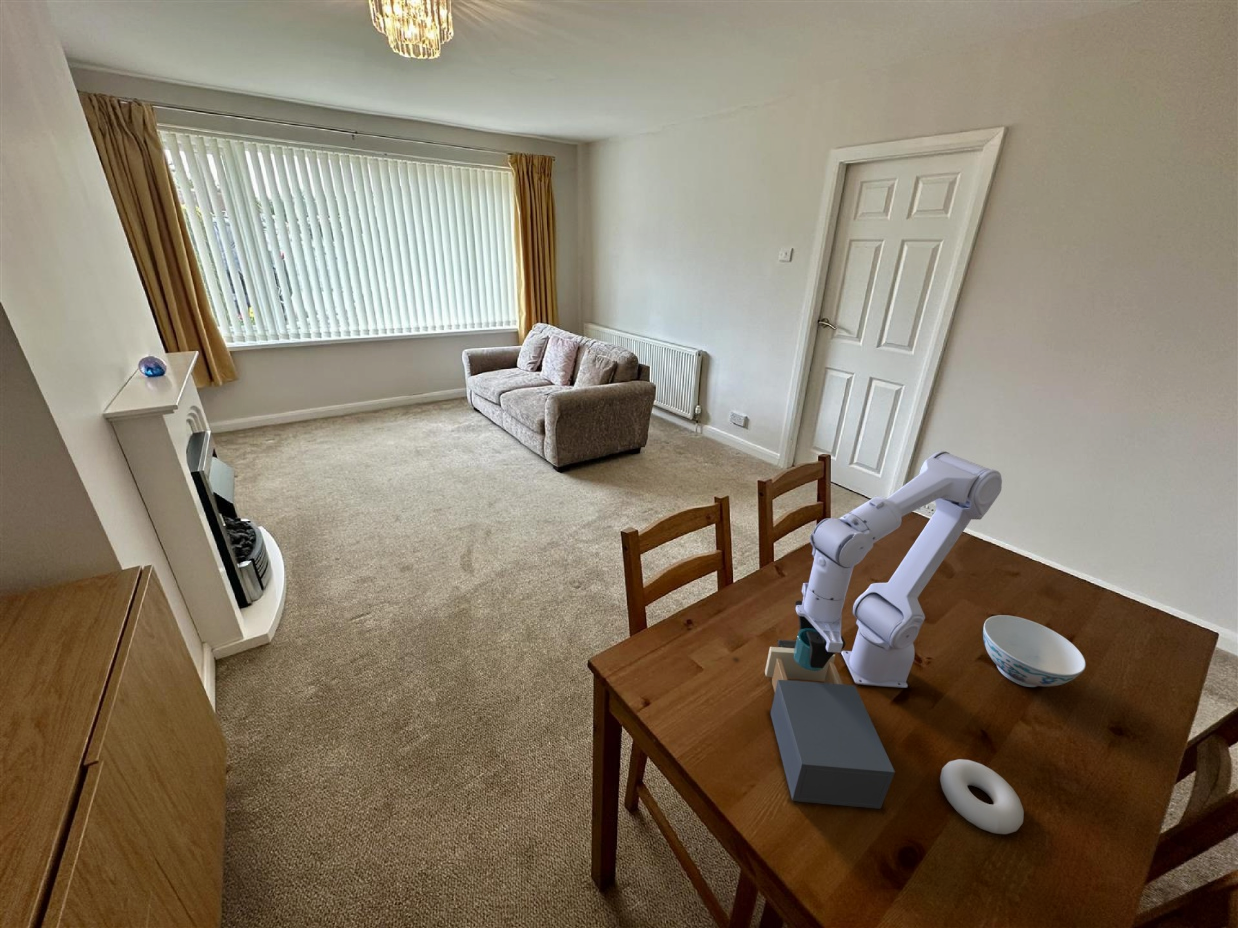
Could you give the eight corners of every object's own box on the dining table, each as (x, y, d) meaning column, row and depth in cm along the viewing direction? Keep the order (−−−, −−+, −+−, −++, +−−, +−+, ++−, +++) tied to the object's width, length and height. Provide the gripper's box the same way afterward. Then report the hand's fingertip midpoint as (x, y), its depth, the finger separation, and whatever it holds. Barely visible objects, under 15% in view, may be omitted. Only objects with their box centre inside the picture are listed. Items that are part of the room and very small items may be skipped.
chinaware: (1090, 704, 87) (1109, 673, 84) (1013, 707, 86) (1029, 676, 83) (1021, 643, 100) (1035, 614, 97) (953, 645, 99) (965, 615, 96)
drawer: (760, 654, 94) (765, 630, 92) (819, 659, 94) (825, 634, 91) (781, 737, 78) (788, 710, 76) (853, 743, 78) (862, 716, 75)
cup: (820, 648, 86) (825, 629, 84) (829, 672, 81) (835, 652, 79) (789, 646, 86) (794, 626, 84) (797, 669, 81) (802, 649, 79)
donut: (981, 766, 76) (922, 770, 75) (989, 752, 74) (928, 755, 73) (1037, 837, 66) (970, 842, 66) (1047, 822, 65) (979, 826, 64)
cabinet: (770, 713, 83) (777, 679, 80) (844, 719, 83) (855, 685, 79) (792, 800, 70) (802, 764, 67) (880, 808, 69) (895, 772, 66)
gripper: (790, 561, 84) (778, 621, 90) (815, 618, 71) (798, 684, 77) (831, 563, 84) (816, 624, 89) (864, 621, 71) (844, 688, 76)
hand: (811, 652), depth 83 cm, fingers closed on cup, 5 cm apart
